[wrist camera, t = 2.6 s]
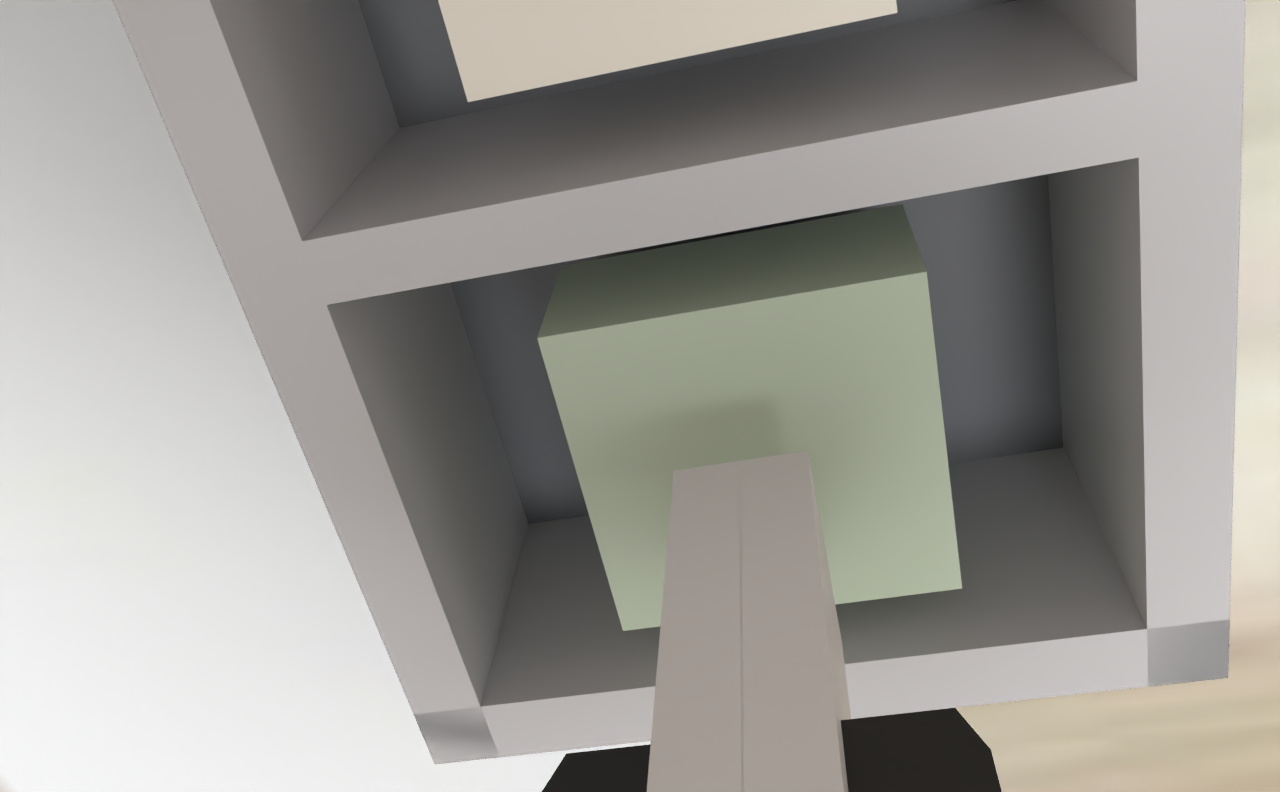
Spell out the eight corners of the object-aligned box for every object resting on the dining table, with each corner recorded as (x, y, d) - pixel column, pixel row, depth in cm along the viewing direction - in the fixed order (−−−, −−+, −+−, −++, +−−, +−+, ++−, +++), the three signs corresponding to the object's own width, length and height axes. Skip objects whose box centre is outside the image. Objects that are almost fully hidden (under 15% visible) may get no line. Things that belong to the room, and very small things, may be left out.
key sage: (560, 266, 16) (536, 337, 14) (902, 203, 15) (927, 271, 13) (634, 536, 18) (622, 631, 16) (937, 494, 17) (962, 588, 15)
